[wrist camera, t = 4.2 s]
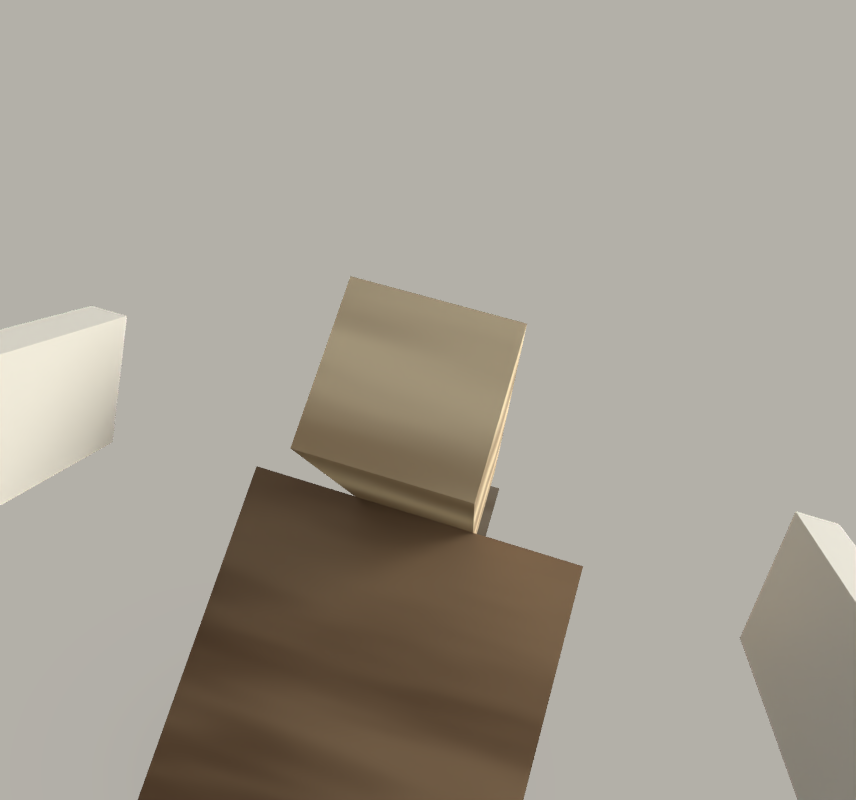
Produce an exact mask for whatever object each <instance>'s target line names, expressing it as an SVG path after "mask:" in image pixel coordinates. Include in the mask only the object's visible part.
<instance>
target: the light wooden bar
mask: <svg viewBox="0 0 856 800" xmlns="http://www.w3.org/2000/svg"><path fill="white" fill-rule="evenodd" d="M526 326H527V324H526V323H522V322H519V321H515V320H511V319H508V318H503V317H500V316H496V315H493V314H489V313H485V312H482V311H478V310H474V309H470V308H467V307H463V306H459V305H456V304H452V303H448V302H444V301H441V300H437V299H433V298H429V297H426V296H422V295H418V294H415V293H411V292H407V291H404V290H400V289H396V288H392V287H389V286H385V285H381V284H377V283H374V282H370V281H366V280H363V279H358V278H355V277H350V280H349V282H348V285H347V288H346V291H345V294H344V297H343V300H342V302H341V305H340V308H339V311H338V314H337V317H336V319H335V322H334V325H333V328H332V331H331V334H330V337H329V340H328V342H327V345H326V348H325V351H324V354H323V357H322V360H321V362H320V365H319V368H318V371H317V374H316V377H315V380H314V383H313V385H312V388H311V391H310V394H309V397H308V400H307V403H306V406H305V408H304V411H303V414H302V417H301V420H300V423H299V426H298V428H297V431H296V434H295V437H294V440H293V443H292V446H291V449H292V450H293V451H295V452H296V453H298V454H299V455H300V456H301V457H303V458H304V459H306V460H307V461H308V462H310V463H311V464H312V465H314V466H315V467H316V468H318V469H319V470H320V471H322V472H323V473H324V474H326V475H327V476H329V477H330V478H331V479H332V480H334V481H335V482H337V483H338V484H340V485H341V486H342V487H343V488H345V489H346V490H347V491H349V492H350V493H351V494H353V495H354V496H355V497H358V498H361V499H365V500H368V501H371V502H374V503H378V504H381V505H384V506H388V507H391V508H394V509H397V510H401V511H404V512H407V513H410V514H414V515H417V516H420V517H423V518H427V519H430V520H433V521H436V522H440V523H443V524H446V525H449V526H453V527H456V528H459V529H463V530H466V531H469V532H472V533H476V534H479V535H482V536H486V532H487V529H488V526H489V522H490V519H491V515H492V511H493V508H494V505H495V501H496V498H497V494H498V491H499V488H495V487H492V486H491V482H492V479H493V475H494V472H495V467H496V463H497V458H498V454H499V449H500V444H501V440H502V436H503V431H504V426H505V422H506V417H507V413H508V408H509V404H510V399H511V394H512V390H513V385H514V380H515V376H516V371H517V367H518V362H519V357H520V353H521V349H522V344H523V339H524V334H525V330H526Z"/></svg>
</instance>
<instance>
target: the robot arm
mask: <svg viewBox="0 0 856 800" xmlns="http://www.w3.org/2000/svg"><path fill="white" fill-rule="evenodd" d="M126 318H127V316H125V315H122V314H118V313H115V312H112V311H108V310H105V309H101V308H98V307H94V306H89V307H85V308H81V309H77V310H73V311H69V312H66V313H62V314H58V315H55V316H50V317H47V318H43V319H39V320H35V321H31V322H27V323H23V324H20V325H16V326H12V327H8V328H4V329H1V330H0V505H2V504H4V503H6V502H7V501H9V500H11V499H13V498H14V497H16V496H18V495H20V494H22V493H23V492H25V491H27V490H29V489H30V488H32V487H34V486H36V485H37V484H39V483H41V482H43V481H45V480H46V479H48V478H50V477H52V476H53V475H55V474H57V473H59V472H61V471H62V470H64V469H66V468H67V467H69V466H71V465H73V464H75V463H76V462H78V461H80V460H82V459H83V458H85V457H87V456H89V455H90V454H92V453H94V452H96V451H98V450H99V449H101V448H103V447H104V446H106V445H108V444H110V443H112V442H113V433H114V424H115V416H116V407H117V398H118V389H119V381H120V371H121V363H122V355H123V346H124V337H125V328H126V320H127V319H126ZM740 639H741V642H742V645H743V648H744V651H745V653H746V656H747V659H748V662H749V665H750V668H751V670H752V673H753V676H754V679H755V682H756V684H757V687H758V690H759V693H760V696H761V698H762V701H763V704H764V707H765V709H766V712H767V715H768V718H769V721H770V724H771V726H772V729H773V732H774V735H775V738H776V741H777V743H778V746H779V749H780V752H781V755H782V757H783V760H784V763H785V766H786V769H787V771H788V774H789V777H790V780H791V783H792V785H793V788H794V791H795V794H796V797H797V800H856V546H855V544H854V543H853V542H852V540H851V539H850V538H849V537H848V535H847V534H846V533H845V531H844V530H843V529H842V528H841V526H840V525H839V524H837V523H834V522H830V521H827V520H823V519H820V518H817V517H813V516H810V515H806V514H803V513H799V512H795V515H794V517H793V519H792V521H791V523H790V526H789V528H788V530H787V533H786V535H785V537H784V539H783V542H782V544H781V546H780V548H779V551H778V553H777V555H776V557H775V560H774V562H773V564H772V567H771V569H770V571H769V573H768V576H767V578H766V580H765V582H764V585H763V587H762V589H761V591H760V594H759V596H758V598H757V601H756V603H755V605H754V607H753V610H752V612H751V614H750V616H749V619H748V621H747V623H746V626H745V628H744V630H743V632H742V635H741V637H740Z"/></svg>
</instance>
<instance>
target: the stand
mask: <svg viewBox="0 0 856 800" xmlns="http://www.w3.org/2000/svg"><path fill="white" fill-rule="evenodd" d="M582 568H583V566H580V565H577V564H573V563H570V562H567V561H563V560H560V559H557V558H554V557H551V556H547V555H544V554H541V553H538V552H534V551H531V550H528V549H525V548H521V547H518V546H515V545H511V544H508V543H505V542H502V541H498V540H495V539H492V538H489V537H485V536H482V535H479V534H476V533H472V532H469V531H466V530H463V529H459V528H456V527H453V526H449V525H446V524H443V523H440V522H436V521H433V520H430V519H427V518H423V517H420V516H417V515H414V514H410V513H407V512H404V511H401V510H397V509H394V508H391V507H388V506H384V505H381V504H378V503H374V502H371V501H368V500H365V499H361V498H358V497H355V496H352V495H348V494H345V493H342V492H339V491H335V490H332V489H329V488H326V487H322V486H319V485H316V484H313V483H309V482H306V481H303V480H300V479H296V478H293V477H290V476H286V475H283V474H280V473H277V472H273V471H270V470H267V469H264V468H260V467H256V470H255V473H254V475H253V478H252V481H251V484H250V487H249V489H248V492H247V495H246V498H245V501H244V504H243V506H242V509H241V512H240V515H239V518H238V520H237V523H236V526H235V529H234V532H233V535H232V537H231V540H230V543H229V546H228V548H227V551H226V554H225V557H224V560H223V563H222V565H221V568H220V571H219V574H218V576H217V579H216V582H215V585H214V588H213V591H212V593H211V596H210V599H209V602H208V604H207V608H206V610H205V613H204V616H203V619H202V621H201V624H200V627H199V630H198V633H197V635H196V638H195V641H194V644H193V647H192V649H191V652H190V655H189V658H188V661H187V663H186V666H185V669H184V672H183V675H182V677H181V680H180V683H179V686H178V689H177V692H176V694H175V697H174V700H173V703H172V706H171V708H170V711H169V714H168V717H167V719H166V722H165V725H164V728H163V731H162V734H161V736H160V739H159V742H158V745H157V748H156V750H155V753H154V756H153V759H152V761H151V764H150V767H149V770H148V773H147V776H146V778H145V781H144V784H143V787H142V790H141V792H140V795H139V798H138V800H523V799H524V795H525V791H526V787H527V783H528V779H529V775H530V771H531V767H532V763H533V760H534V756H535V752H536V748H537V744H538V740H539V736H540V732H541V728H542V724H543V720H544V717H545V713H546V709H547V704H548V701H549V697H550V693H551V689H552V685H553V681H554V677H555V674H556V669H557V666H558V661H559V658H560V654H561V650H562V646H563V642H564V638H565V634H566V630H567V626H568V623H569V619H570V615H571V611H572V607H573V603H574V599H575V595H576V591H577V587H578V583H579V580H580V576H581V572H582Z"/></svg>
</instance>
